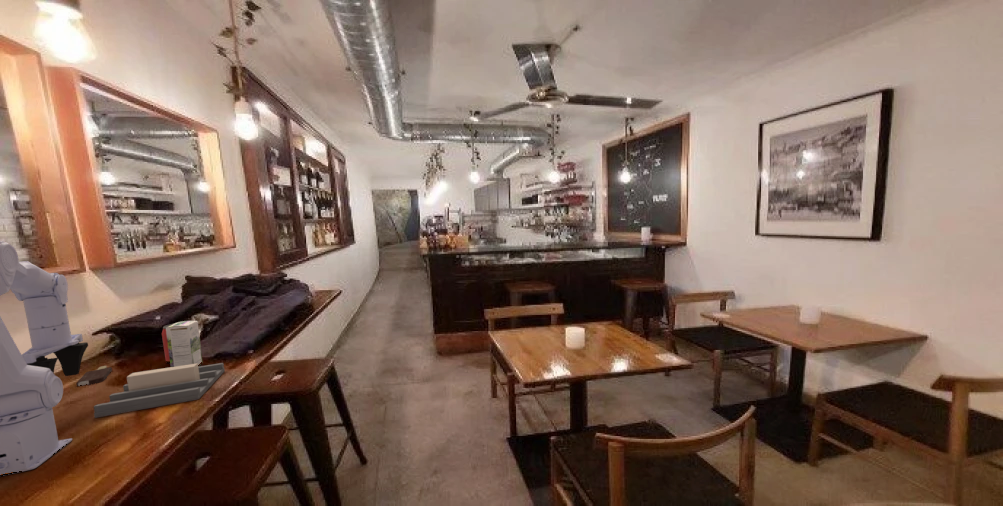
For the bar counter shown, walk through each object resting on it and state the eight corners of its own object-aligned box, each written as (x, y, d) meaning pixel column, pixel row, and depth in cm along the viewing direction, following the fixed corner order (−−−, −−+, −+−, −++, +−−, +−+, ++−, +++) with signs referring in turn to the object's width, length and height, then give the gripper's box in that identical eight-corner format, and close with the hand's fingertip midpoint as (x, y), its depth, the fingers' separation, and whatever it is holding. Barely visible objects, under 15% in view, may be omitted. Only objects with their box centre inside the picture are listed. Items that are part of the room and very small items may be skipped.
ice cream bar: (91, 371, 111) (76, 389, 100) (90, 366, 111) (75, 383, 100) (115, 366, 115) (103, 383, 103) (115, 361, 114) (102, 377, 103)
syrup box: (181, 366, 112) (175, 322, 111) (203, 363, 114) (197, 319, 112) (171, 373, 107) (164, 327, 105) (194, 370, 109) (188, 324, 107)
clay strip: (200, 380, 99) (197, 363, 98) (196, 384, 97) (193, 366, 96) (135, 390, 94) (132, 373, 93) (129, 395, 92) (126, 376, 91)
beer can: (187, 361, 116) (182, 326, 114) (161, 365, 113) (156, 329, 112) (196, 354, 122) (191, 320, 121) (171, 357, 119) (166, 323, 118)
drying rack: (198, 399, 91) (197, 389, 90) (94, 417, 83) (92, 407, 83) (224, 371, 107) (223, 362, 107) (139, 384, 100) (138, 375, 100)
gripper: (46, 332, 75) (58, 392, 77) (95, 314, 89) (103, 366, 90) (-1, 337, 73) (12, 399, 74) (56, 318, 86) (66, 371, 88)
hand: (59, 381), depth 82 cm, fingers open, 7 cm apart
